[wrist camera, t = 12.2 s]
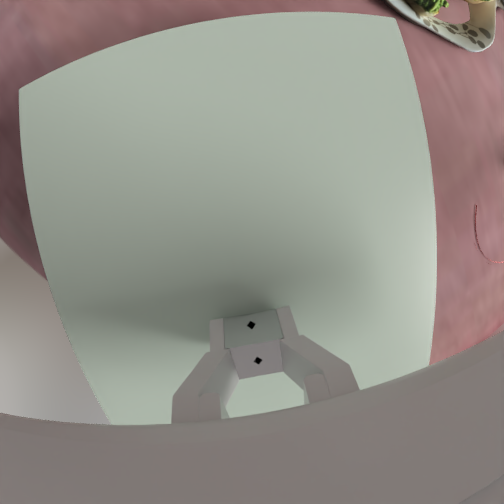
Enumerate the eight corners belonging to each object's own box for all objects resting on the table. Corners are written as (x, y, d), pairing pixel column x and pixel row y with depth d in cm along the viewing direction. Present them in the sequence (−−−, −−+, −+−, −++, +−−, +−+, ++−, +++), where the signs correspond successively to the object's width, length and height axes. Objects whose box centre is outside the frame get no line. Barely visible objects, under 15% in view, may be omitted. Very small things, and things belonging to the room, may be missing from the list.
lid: (28, 92, 10) (19, 89, 9) (387, 24, 10) (394, 18, 9) (137, 452, 14) (135, 461, 13) (414, 402, 14) (420, 410, 14)
